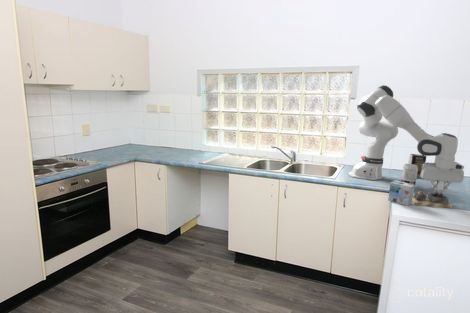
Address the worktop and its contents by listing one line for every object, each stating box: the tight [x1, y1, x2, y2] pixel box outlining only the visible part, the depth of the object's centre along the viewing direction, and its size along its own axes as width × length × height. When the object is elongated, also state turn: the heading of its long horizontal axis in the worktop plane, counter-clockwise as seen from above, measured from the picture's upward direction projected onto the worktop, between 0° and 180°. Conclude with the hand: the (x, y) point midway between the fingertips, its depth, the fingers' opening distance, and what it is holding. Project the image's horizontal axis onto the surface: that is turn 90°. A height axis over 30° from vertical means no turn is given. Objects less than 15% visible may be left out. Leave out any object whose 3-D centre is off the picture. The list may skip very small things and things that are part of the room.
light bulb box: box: [387, 179, 416, 207], centre depth 176 cm, size 11×7×11 cm, turn 45°
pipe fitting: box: [433, 180, 447, 198], centre depth 174 cm, size 4×4×10 cm
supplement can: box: [400, 163, 418, 186], centre depth 201 cm, size 8×8×15 cm
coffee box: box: [407, 153, 427, 179], centre depth 228 cm, size 9×6×16 cm
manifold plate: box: [412, 190, 453, 209], centre depth 176 cm, size 18×12×6 cm, turn 80°
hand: (439, 188), depth 174 cm, fingers closed on pipe fitting, 4 cm apart
